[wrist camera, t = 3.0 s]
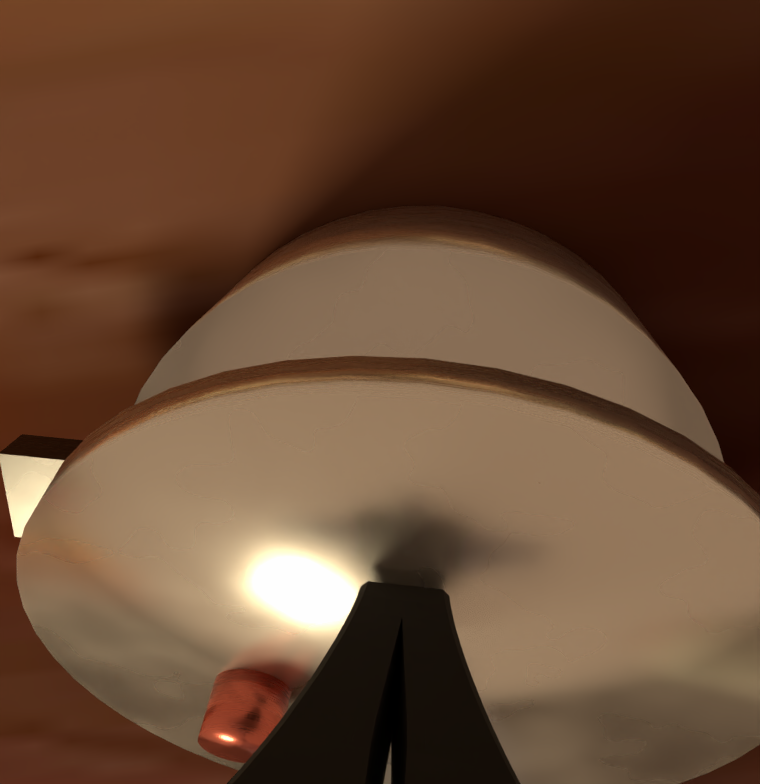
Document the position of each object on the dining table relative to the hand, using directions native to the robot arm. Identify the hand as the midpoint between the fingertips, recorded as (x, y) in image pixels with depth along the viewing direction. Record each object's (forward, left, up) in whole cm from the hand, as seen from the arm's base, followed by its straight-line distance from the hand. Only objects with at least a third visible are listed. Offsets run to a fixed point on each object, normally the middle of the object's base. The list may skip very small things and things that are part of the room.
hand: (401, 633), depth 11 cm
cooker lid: (-2, +2, -2) cm, 3 cm away
